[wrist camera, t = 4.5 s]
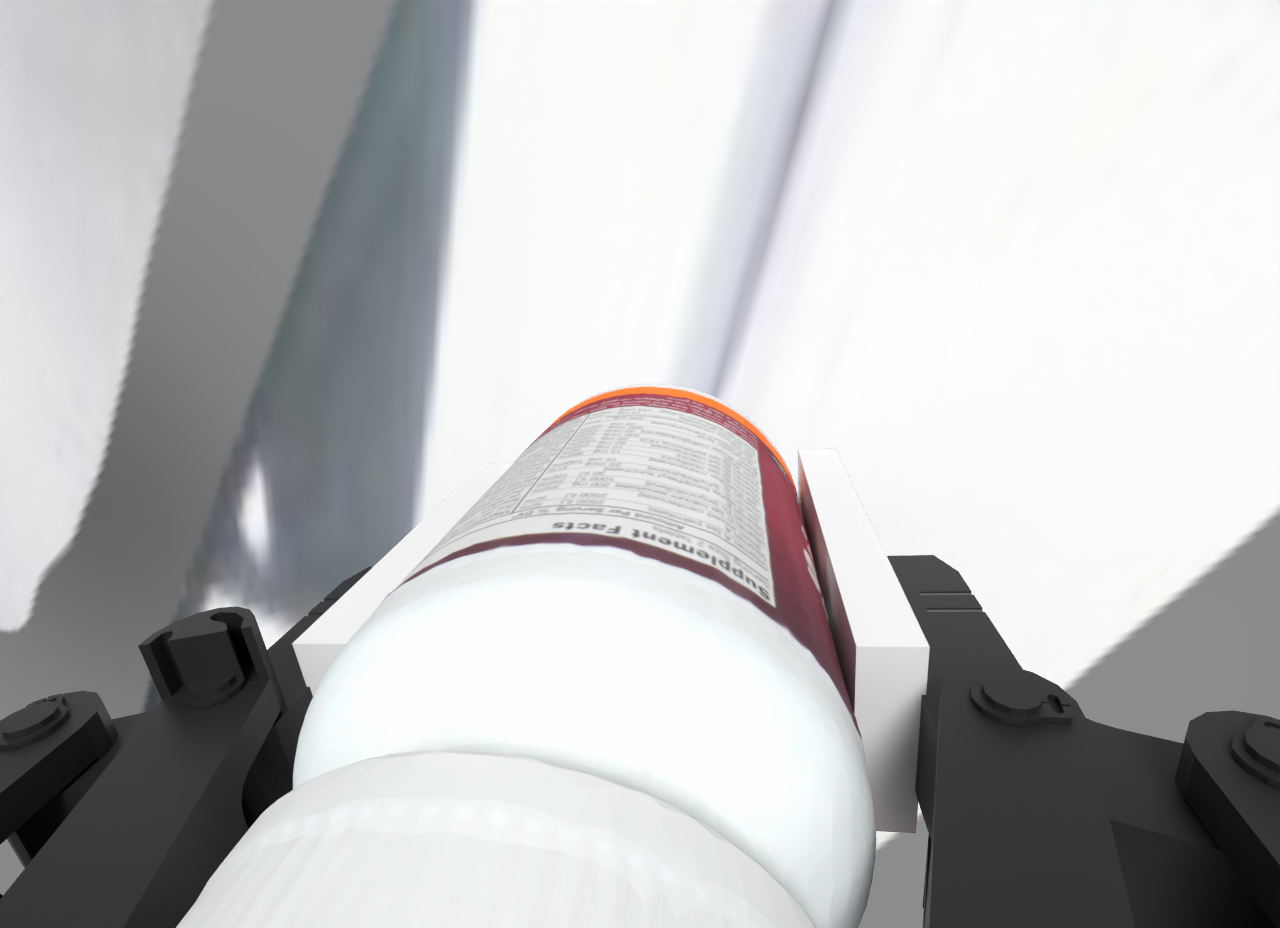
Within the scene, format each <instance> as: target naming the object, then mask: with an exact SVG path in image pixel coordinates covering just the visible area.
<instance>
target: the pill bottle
mask: <svg viewBox="0 0 1280 928" xmlns="http://www.w3.org/2000/svg"><path fill="white" fill-rule="evenodd" d="M875 849H876V830H875V815H874V805H873V799H872V793H871V788H870V784H869V780H868V776H867V768H866V759H865V753H864V748H863V743H862V737H861V733H860V731H859V728H858V724H857V720H856V717H855V715H854V713H853V711H852V708H851V703H850V699H849V696H848V693H847V690H846V687H845V684H844V680H843V676H842V671H841V667H840V663H839V660H838V656H837V652H836V648H835V644H834V640H833V636H832V632H831V630H830V625H829V620H828V615H827V611H826V608H825V602H824V597H823V594H822V591H821V588H820V584H819V580H818V577H817V573H816V569H815V565H814V560H813V554H812V550H811V546H810V542H809V539H808V535H807V531H806V528H805V523H804V518H803V513H802V510H801V506H800V502H799V499H798V495H797V492H796V488H795V485H794V482H793V479H792V476H791V474H790V472H789V469H788V467H787V465H786V463H785V461H784V459H783V458H782V456H781V455H780V453H779V451H778V450H777V448H776V447H775V446H774V444H773V443H772V442H771V440H770V439H769V438H768V437H767V435H766V434H765V433H764V432H763V431H762V430H761V429H760V428H759V427H758V426H757V425H756V424H755V423H754V422H753V421H752V420H751V419H749V418H748V417H747V416H746V415H745V414H743V413H742V412H740V411H739V410H737V409H736V408H734V407H733V406H731V405H730V404H728V403H726V402H724V401H722V400H720V399H718V398H716V397H713V396H711V395H709V394H706V393H703V392H700V391H697V390H694V389H691V388H686V387H681V386H675V385H667V384H636V385H629V386H624V387H619V388H615V389H611V390H608V391H605V392H602V393H599V394H597V395H595V396H592V397H590V398H588V399H586V400H584V401H582V402H581V403H579V404H577V405H576V406H574V407H572V408H571V409H569V410H568V411H567V412H565V413H564V414H563V415H562V416H560V417H559V418H558V419H557V420H556V421H555V422H554V423H553V424H552V425H551V426H550V427H549V428H548V429H546V430H545V431H544V432H543V433H542V434H541V435H540V436H539V437H538V438H537V439H536V440H535V441H534V442H533V443H532V444H531V445H530V446H529V447H528V448H527V449H526V450H525V451H524V452H523V453H522V454H521V456H520V457H519V458H518V459H517V460H516V461H515V462H514V463H513V464H512V465H511V466H510V467H509V468H508V469H507V471H506V472H505V473H504V474H503V475H502V476H501V477H500V478H499V479H498V480H497V481H496V482H495V483H494V484H493V485H492V486H491V487H490V488H489V490H488V491H487V492H486V493H485V494H484V495H483V496H482V497H481V498H480V499H479V500H478V501H477V502H476V503H475V504H474V505H473V506H472V507H471V508H470V509H469V510H468V511H467V512H466V513H465V515H464V516H463V517H462V518H461V519H460V520H459V521H458V522H457V523H456V524H455V525H454V526H453V527H452V529H451V530H450V531H449V532H448V533H447V534H446V535H445V536H444V537H443V538H442V539H441V540H440V542H439V543H438V544H437V545H436V546H435V547H434V548H433V549H432V550H431V551H430V552H429V553H428V554H427V556H426V557H425V558H424V559H423V560H422V561H421V562H420V563H419V564H418V565H417V566H416V567H415V568H414V569H413V570H412V571H411V572H410V573H409V574H408V575H407V576H406V577H405V578H404V580H403V581H402V582H401V583H400V584H399V585H398V586H397V587H396V588H395V589H394V590H393V591H392V592H391V593H389V594H388V595H387V596H386V597H385V599H384V600H383V601H382V602H381V604H380V605H379V606H378V608H377V609H376V610H375V611H374V613H373V614H372V615H371V616H370V617H369V618H368V619H367V621H366V622H365V623H364V624H363V625H362V626H361V627H360V628H359V629H358V631H357V632H356V633H355V634H354V635H353V636H352V638H351V639H350V640H349V641H348V642H347V643H346V645H345V646H344V647H343V648H342V649H341V651H340V652H339V654H338V655H337V657H336V658H335V659H334V661H333V662H332V664H331V665H330V667H329V668H328V669H327V671H326V673H325V674H324V676H323V678H322V679H321V681H320V683H319V685H318V687H317V690H316V692H315V694H314V696H313V698H312V701H311V703H310V705H309V707H308V710H307V713H306V715H305V718H304V722H303V725H302V728H301V731H300V735H299V739H298V744H297V750H296V756H295V762H294V770H293V790H292V791H290V792H289V793H287V794H286V795H284V796H283V797H281V798H280V799H278V800H277V801H276V802H275V803H273V804H272V805H271V806H270V807H268V808H267V809H266V810H265V811H264V812H263V813H262V814H261V815H260V816H259V818H258V819H257V820H256V821H255V822H254V824H253V825H252V826H251V827H250V828H249V830H248V831H247V832H246V833H245V835H244V836H243V837H242V838H241V840H240V841H239V842H238V843H237V845H236V846H235V847H234V848H233V850H232V851H231V852H230V853H229V855H228V856H227V857H226V858H225V860H224V861H223V862H222V863H221V865H220V866H219V867H218V869H217V870H216V871H215V873H214V874H213V875H212V876H211V878H210V879H209V881H208V882H207V884H206V886H205V887H204V889H203V891H202V892H201V894H200V896H199V897H198V899H197V901H196V902H195V903H194V905H193V906H192V907H191V909H190V910H189V911H188V913H187V914H186V915H185V916H184V918H183V919H182V920H181V922H180V923H179V924H178V926H177V927H176V928H858V926H859V924H860V921H861V919H862V916H863V913H864V911H865V908H866V905H867V901H868V896H869V892H870V887H871V883H872V876H873V869H874V861H875Z"/></svg>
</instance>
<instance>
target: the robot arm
mask: <svg viewBox="0 0 1280 928" xmlns="http://www.w3.org/2000/svg"><path fill="white" fill-rule="evenodd" d="M513 463H514V462H511V463H489V464H482V465H481V466H480V467H479V468H478V469H477V470H476V471H475V472H474V473H473V474H471V475H470V476H469V477H468V478H467V479H466V480H465V481H464V482H463V483H462V484H461V485H460V486H459V487H458V488H457V489H456V490H454V491H453V492H452V493H451V494H450V495H449V496H448V497H447V498H446V499H445V500H444V501H443V502H442V503H441V504H440V505H439V506H438V507H436V508H435V509H434V510H433V511H432V512H431V513H430V514H429V515H428V516H427V517H426V518H425V519H424V520H423V521H422V522H421V523H419V524H418V525H417V526H416V527H415V528H414V529H413V530H412V531H411V532H410V533H409V534H408V535H407V536H406V537H405V538H404V539H402V540H401V541H400V542H399V543H398V544H397V545H396V546H395V547H394V548H393V549H392V550H391V551H390V552H389V553H388V554H387V555H385V556H384V557H383V558H382V559H381V560H380V561H379V562H378V563H377V564H376V565H375V566H374V567H368V568H366V569H365V570H363V571H361V572H359V573H357V574H356V575H354V576H352V577H350V578H349V579H347V580H345V581H343V582H342V583H341V584H340V585H339V586H338V587H336V588H335V589H334V590H333V591H332V592H331V593H330V594H329V595H328V596H327V597H325V598H324V602H320V603H319V604H318V605H317V606H316V607H314V608H313V609H312V610H311V611H310V612H309V615H308V616H304V617H303V618H302V619H301V620H300V621H299V622H298V623H297V624H296V625H295V626H293V627H292V628H291V629H290V630H289V631H288V632H287V633H286V634H285V635H284V636H282V637H281V638H280V639H279V640H278V641H277V642H276V643H275V644H274V645H272V646H271V647H270V648H269V649H268V650H266V647H265V644H264V641H263V638H262V636H261V633H260V630H259V627H258V624H257V622H256V619H255V616H254V615H253V613H252V612H251V611H250V610H249V609H245V608H241V607H227V608H217V609H213V610H209V611H205V612H201V613H197V614H194V615H192V616H189V617H187V618H184V619H182V620H179V621H176V622H174V623H172V624H170V625H169V626H167V627H165V628H163V629H161V630H159V631H157V632H156V633H154V634H153V635H152V636H150V637H149V638H148V639H146V640H145V641H144V642H143V643H141V644H140V645H139V649H140V651H141V653H142V655H143V658H144V660H145V662H146V665H147V667H148V669H149V671H150V674H151V676H152V678H153V681H154V683H155V685H156V687H157V690H158V692H159V694H160V696H161V699H162V700H161V701H160V702H159V703H158V705H157V706H156V707H155V708H154V710H153V711H151V712H146V713H141V714H136V715H132V716H126V717H122V718H117V719H112V720H111V718H110V716H109V714H108V712H107V710H106V708H105V706H104V704H103V702H102V700H101V698H100V697H99V696H98V694H97V693H94V692H87V691H79V692H73V693H66V694H58V695H54V696H50V697H48V698H47V699H46V698H43V699H41V700H38V701H35V702H33V703H31V704H29V705H28V706H26V707H25V708H23V709H21V710H19V711H17V712H15V713H13V714H11V715H9V716H7V717H6V718H4V719H3V720H1V721H0V844H1V843H2V842H4V841H5V840H6V839H7V840H8V841H9V843H10V845H11V846H12V848H13V850H14V851H15V853H16V855H17V856H18V858H19V860H20V861H21V863H22V865H23V866H24V868H25V870H24V871H23V872H22V873H21V874H20V876H19V877H18V878H17V879H16V881H15V882H14V883H13V884H12V886H11V887H10V888H9V889H8V890H7V892H6V893H5V894H4V895H1V894H0V928H176V927H177V926H178V924H179V923H180V922H181V920H182V919H183V918H184V916H185V915H186V914H187V913H188V911H189V910H190V909H191V907H192V906H193V905H194V903H195V902H196V901H197V899H198V897H199V896H200V894H201V892H202V891H203V889H204V887H205V886H206V884H207V882H208V881H209V879H210V878H211V876H212V875H213V874H214V873H215V871H216V870H217V869H218V867H219V866H220V865H221V863H222V862H223V861H224V860H225V858H226V857H227V856H228V855H229V853H230V852H231V851H232V850H233V848H234V847H235V846H236V845H237V843H238V842H239V841H240V840H241V838H242V837H243V836H244V835H245V833H246V832H247V831H248V830H249V828H250V827H251V826H252V825H253V824H254V822H255V821H256V820H257V819H258V818H259V816H260V815H261V814H262V813H263V812H264V811H265V810H266V809H267V808H268V807H270V806H271V805H272V804H273V803H275V802H276V801H277V800H278V799H280V798H281V797H283V796H284V795H286V794H287V793H289V792H290V791H292V790H293V770H294V762H295V756H296V750H297V744H298V739H299V735H300V731H301V728H302V725H303V722H304V718H305V715H306V713H307V710H308V707H309V705H310V703H311V701H312V698H313V696H314V694H315V692H316V690H317V687H318V685H319V683H320V681H321V679H322V678H323V676H324V674H325V673H326V671H327V669H328V668H329V667H330V665H331V664H332V662H333V661H334V659H335V658H336V657H337V655H338V654H339V652H340V651H341V649H342V648H343V647H344V646H345V645H346V643H347V642H348V641H349V640H350V639H351V638H352V636H353V635H354V634H355V633H356V632H357V631H358V629H359V628H360V627H361V626H362V625H363V624H364V623H365V622H366V621H367V619H368V618H369V617H370V616H371V615H372V614H373V613H374V611H375V610H376V609H377V608H378V606H379V605H380V604H381V602H382V601H383V600H384V599H385V597H386V596H387V595H388V594H389V593H391V592H392V591H393V590H394V589H395V588H396V587H397V586H398V585H399V584H400V583H401V582H402V581H403V580H404V578H405V577H406V576H407V575H408V574H409V573H410V572H411V571H412V570H413V569H414V568H415V567H416V566H417V565H418V564H419V563H420V562H421V561H422V560H423V559H424V558H425V557H426V556H427V554H428V553H429V552H430V551H431V550H432V549H433V548H434V547H435V546H436V545H437V544H438V543H439V542H440V540H441V539H442V538H443V537H444V536H445V535H446V534H447V533H448V532H449V531H450V530H451V529H452V527H453V526H454V525H455V524H456V523H457V522H458V521H459V520H460V519H461V518H462V517H463V516H464V515H465V513H466V512H467V511H468V510H469V509H470V508H471V507H472V506H473V505H474V504H475V503H476V502H477V501H478V500H479V499H480V498H481V497H482V496H483V495H484V494H485V493H486V492H487V491H488V490H489V488H490V487H491V486H492V485H493V484H494V483H495V482H496V481H497V480H498V479H499V478H500V477H501V476H502V475H503V474H504V473H505V472H506V471H507V469H508V468H509V467H510V466H511V465H512V464H513ZM798 497H799V502H800V506H801V510H802V513H803V518H804V523H805V528H806V531H807V535H808V539H809V542H810V546H811V550H812V554H813V560H814V565H815V569H816V573H817V577H818V580H819V584H820V588H821V591H822V594H823V597H824V602H825V608H826V611H827V615H828V620H829V625H830V630H831V632H832V636H833V640H834V644H835V648H836V652H837V656H838V660H839V663H840V667H841V671H842V676H843V680H844V684H845V687H846V690H847V693H848V696H849V699H850V703H851V708H852V711H853V713H854V715H855V717H856V720H857V724H858V728H859V731H860V733H861V737H862V743H863V748H864V753H865V759H866V768H867V776H868V780H869V784H870V788H871V793H872V799H873V805H874V815H875V830H876V831H887V832H907V833H916V823H917V810H918V802H919V805H920V808H921V811H922V814H923V817H924V820H925V823H926V826H927V829H928V832H929V838H928V851H927V862H926V874H925V886H924V897H923V908H924V913H923V928H1280V720H1277V719H1274V718H1272V717H1268V716H1263V715H1256V714H1250V713H1245V712H1239V711H1222V712H1221V711H1220V712H1206V713H1204V714H1203V715H1201V716H1199V717H1197V718H1195V719H1193V720H1191V721H1190V723H1189V726H1188V730H1187V733H1186V737H1185V741H1184V744H1183V743H1178V742H1174V741H1170V740H1165V739H1161V738H1156V737H1152V736H1148V735H1143V734H1138V733H1134V732H1130V731H1126V730H1121V729H1117V728H1114V727H1110V726H1107V725H1103V724H1100V723H1096V722H1093V721H1091V720H1089V719H1087V718H1085V716H1084V714H1083V713H1082V711H1081V709H1080V707H1079V705H1078V703H1077V702H1076V701H1075V700H1074V699H1073V698H1072V697H1071V696H1070V695H1068V694H1067V693H1066V692H1065V691H1064V690H1063V689H1061V688H1060V687H1059V686H1058V685H1056V684H1054V683H1052V682H1050V681H1049V680H1047V679H1045V678H1043V677H1041V676H1039V675H1037V674H1035V673H1033V672H1029V671H1026V670H1023V669H1022V668H1021V666H1020V665H1019V663H1018V662H1017V660H1016V658H1015V657H1014V655H1013V654H1012V652H1011V651H1010V649H1009V648H1008V646H1007V645H1006V643H1005V642H1004V640H1003V639H1002V637H1001V636H1000V634H999V633H998V631H997V630H996V628H995V627H994V625H993V624H992V622H991V621H990V619H989V617H988V616H987V614H986V613H985V612H983V611H982V607H981V605H980V604H979V602H978V601H977V599H976V598H975V596H974V595H972V594H971V590H970V589H969V587H968V586H967V584H966V583H965V581H964V580H963V578H962V577H961V575H960V573H959V572H958V571H957V570H955V569H954V568H952V567H951V566H949V565H948V564H946V563H944V562H943V561H941V560H940V559H938V558H937V557H935V556H934V555H918V556H887V555H886V553H885V551H884V549H883V547H882V545H881V543H880V541H879V538H878V536H877V534H876V532H875V530H874V528H873V526H872V524H871V521H870V519H869V517H868V515H867V513H866V511H865V509H864V507H863V504H862V502H861V500H860V498H859V496H858V494H857V492H856V490H855V488H854V485H853V483H852V481H851V479H850V477H849V475H848V473H847V471H846V468H845V466H844V464H843V462H842V460H841V458H840V456H839V454H838V451H837V449H836V448H826V449H803V450H798Z"/></svg>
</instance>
